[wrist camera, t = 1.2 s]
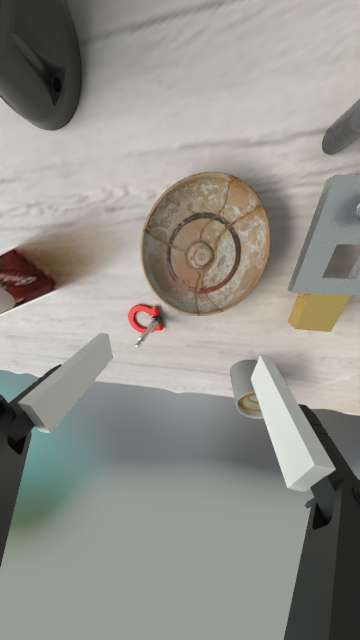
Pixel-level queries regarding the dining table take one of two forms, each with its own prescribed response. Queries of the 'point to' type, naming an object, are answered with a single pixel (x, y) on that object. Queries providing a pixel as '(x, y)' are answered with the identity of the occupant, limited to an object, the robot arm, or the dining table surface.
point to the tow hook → (151, 327)
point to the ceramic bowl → (205, 243)
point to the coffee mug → (245, 389)
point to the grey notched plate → (327, 257)
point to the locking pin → (343, 131)
